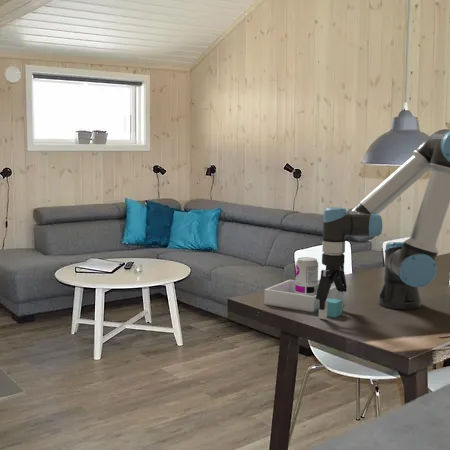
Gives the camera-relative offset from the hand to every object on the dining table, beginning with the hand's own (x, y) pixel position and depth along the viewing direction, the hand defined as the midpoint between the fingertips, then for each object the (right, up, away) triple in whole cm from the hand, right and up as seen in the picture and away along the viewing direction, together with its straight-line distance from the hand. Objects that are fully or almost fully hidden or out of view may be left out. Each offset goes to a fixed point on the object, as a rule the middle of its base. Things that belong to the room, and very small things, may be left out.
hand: (331, 314), depth 217 cm
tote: (-8, +2, +16) cm, 18 cm away
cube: (0, 0, 0) cm, 0 cm away
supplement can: (-6, +3, +19) cm, 20 cm away
